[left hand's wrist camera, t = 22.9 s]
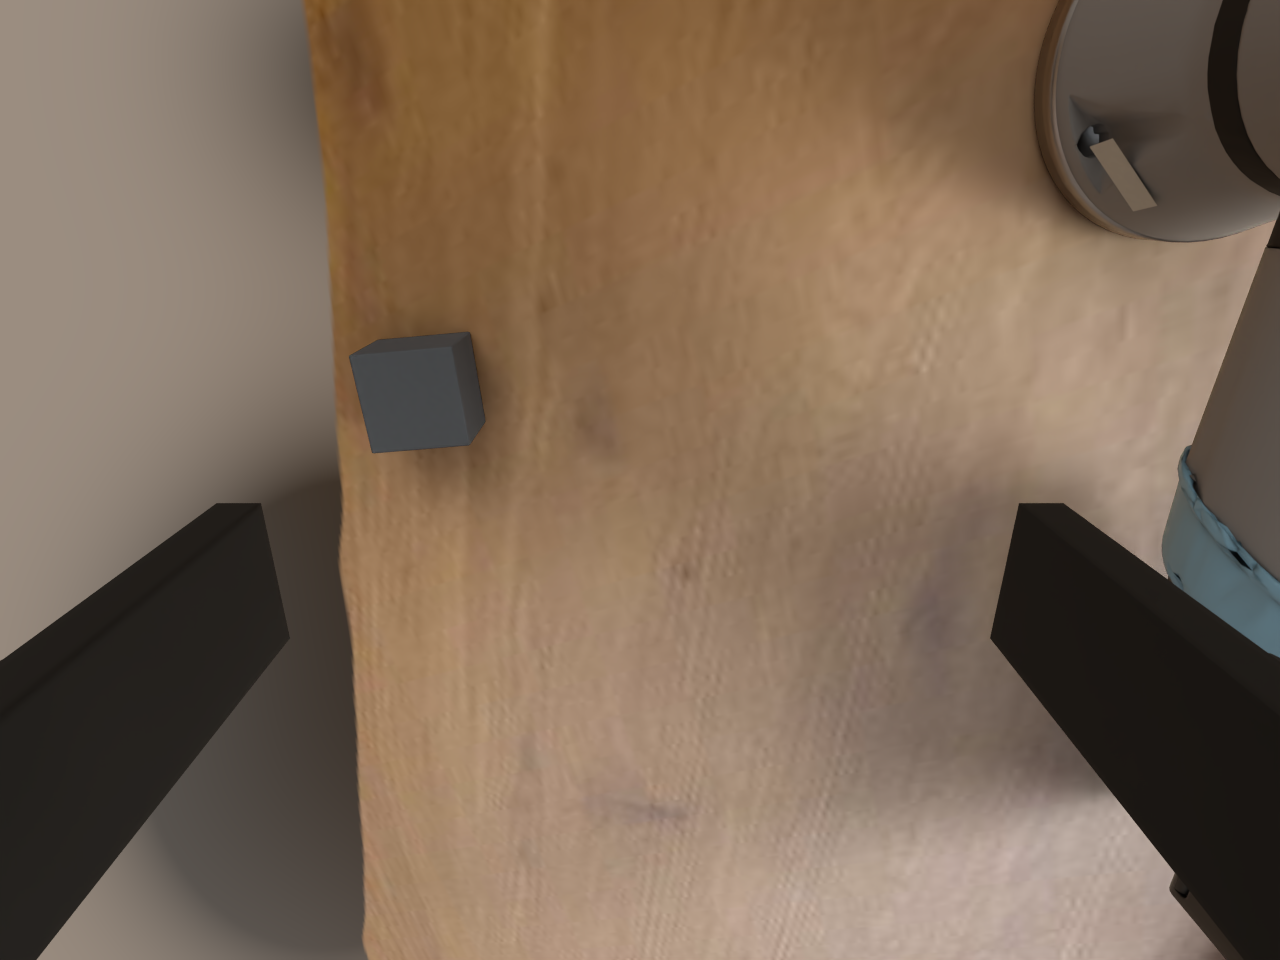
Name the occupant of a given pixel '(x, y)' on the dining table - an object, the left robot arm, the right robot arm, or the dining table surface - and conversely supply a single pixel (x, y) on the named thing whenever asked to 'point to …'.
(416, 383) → the slate block
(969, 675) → the dining table surface
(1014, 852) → the dining table surface
